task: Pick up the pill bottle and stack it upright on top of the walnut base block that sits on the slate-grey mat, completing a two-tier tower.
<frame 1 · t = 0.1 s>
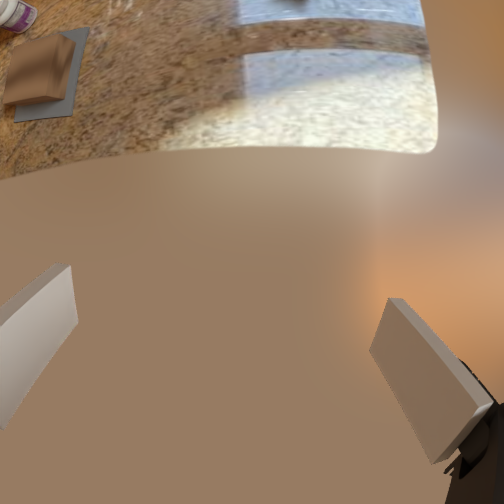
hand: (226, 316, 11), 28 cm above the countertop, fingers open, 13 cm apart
base block: (46, 74, 29), resting on mat
pill bottle: (27, 21, 25), on the countertop
mat: (48, 74, 29), on the countertop
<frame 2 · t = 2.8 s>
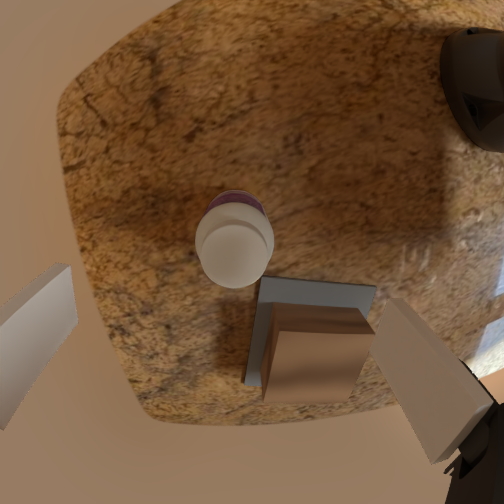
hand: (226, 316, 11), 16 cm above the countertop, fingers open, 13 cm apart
base block: (308, 341, 30), resting on mat
pill bottle: (235, 218, 26), on the countertop
mat: (307, 339, 31), on the countertop
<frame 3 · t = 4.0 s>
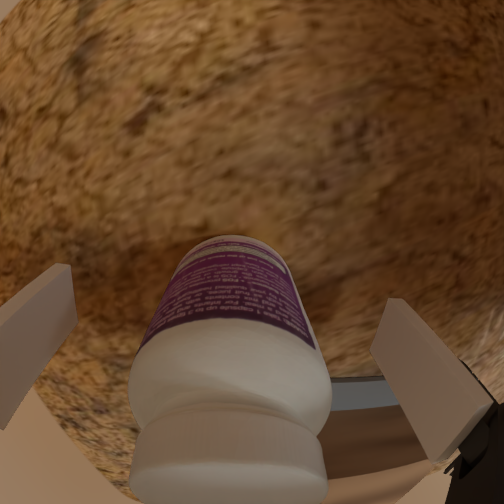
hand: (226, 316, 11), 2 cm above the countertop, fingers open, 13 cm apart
base block: (342, 446, 17), resting on mat
pill bottle: (233, 288, 13), on the countertop
mat: (341, 442, 18), on the countertop
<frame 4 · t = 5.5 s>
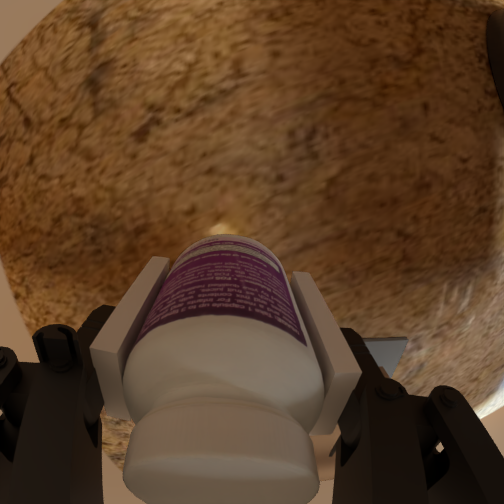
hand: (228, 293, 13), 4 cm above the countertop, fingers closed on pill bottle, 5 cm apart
base block: (316, 408, 21), resting on mat
pill bottle: (228, 287, 13), point 4 cm above the countertop, touching gripper
mat: (315, 405, 22), on the countertop
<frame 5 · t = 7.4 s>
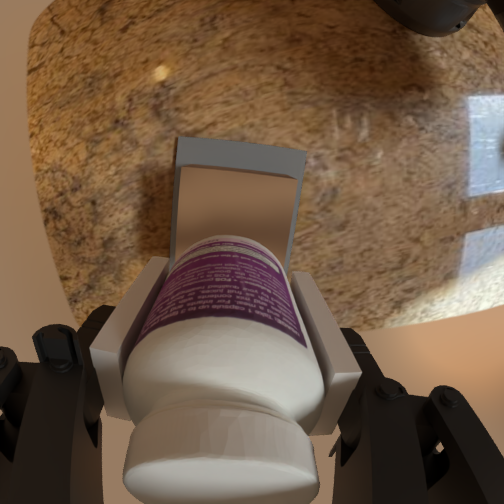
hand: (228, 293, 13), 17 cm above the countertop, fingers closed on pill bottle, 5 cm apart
base block: (234, 215, 28), resting on mat
pill bottle: (228, 288, 13), point 16 cm above the countertop, touching gripper
mat: (234, 214, 29), on the countertop
when the fingers open (6 cm above the countertop, at t = 9.5 s): pill bottle stays where it is, resting on base block.
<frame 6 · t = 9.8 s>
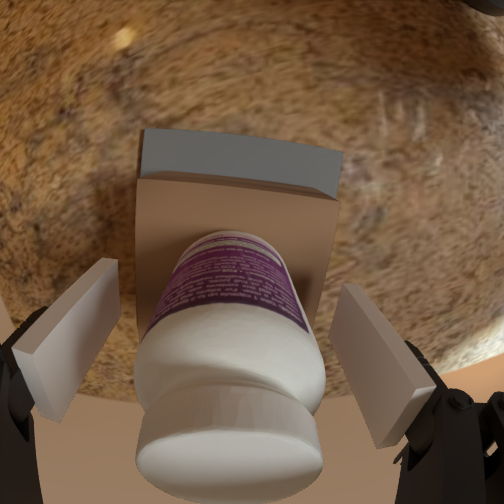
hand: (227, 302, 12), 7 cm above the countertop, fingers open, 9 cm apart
base block: (230, 250, 19), resting on mat, touching pill bottle
pill bottle: (231, 282, 14), point 5 cm above the countertop, touching base block
mat: (230, 247, 19), on the countertop
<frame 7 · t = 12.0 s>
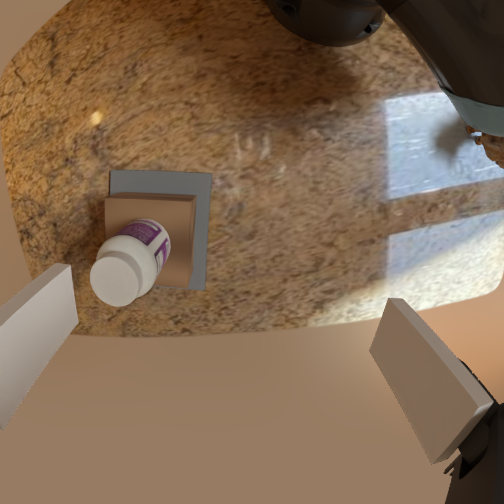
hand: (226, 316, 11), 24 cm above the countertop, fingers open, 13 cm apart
lion figurine: (481, 128, 32), on the countertop
base block: (156, 231, 33), resting on mat, touching pill bottle
pill bottle: (146, 243, 29), point 5 cm above the countertop, touching base block
mat: (157, 230, 34), on the countertop
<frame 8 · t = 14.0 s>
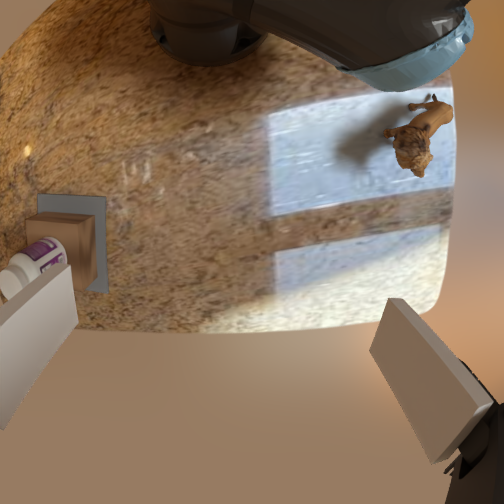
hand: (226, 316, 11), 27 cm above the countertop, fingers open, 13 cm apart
lion figurine: (407, 130, 34), on the countertop
base block: (69, 243, 37), resting on mat, touching pill bottle
pill bottle: (53, 255, 32), point 5 cm above the countertop, touching base block
mat: (71, 243, 37), on the countertop
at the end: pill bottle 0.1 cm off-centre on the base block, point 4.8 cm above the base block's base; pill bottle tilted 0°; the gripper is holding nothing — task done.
